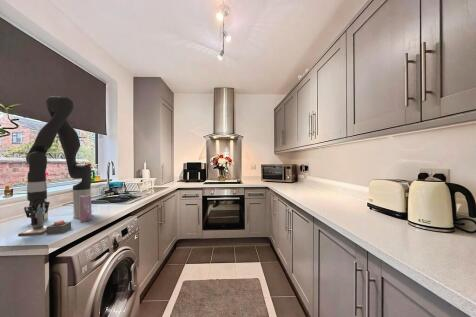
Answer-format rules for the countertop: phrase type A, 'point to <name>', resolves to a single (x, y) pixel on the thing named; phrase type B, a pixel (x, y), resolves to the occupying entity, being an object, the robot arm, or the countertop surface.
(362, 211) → the countertop surface
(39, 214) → the green lidded grey container
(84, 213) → the tall pink box
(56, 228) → the button box
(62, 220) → the button
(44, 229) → the drawing board
